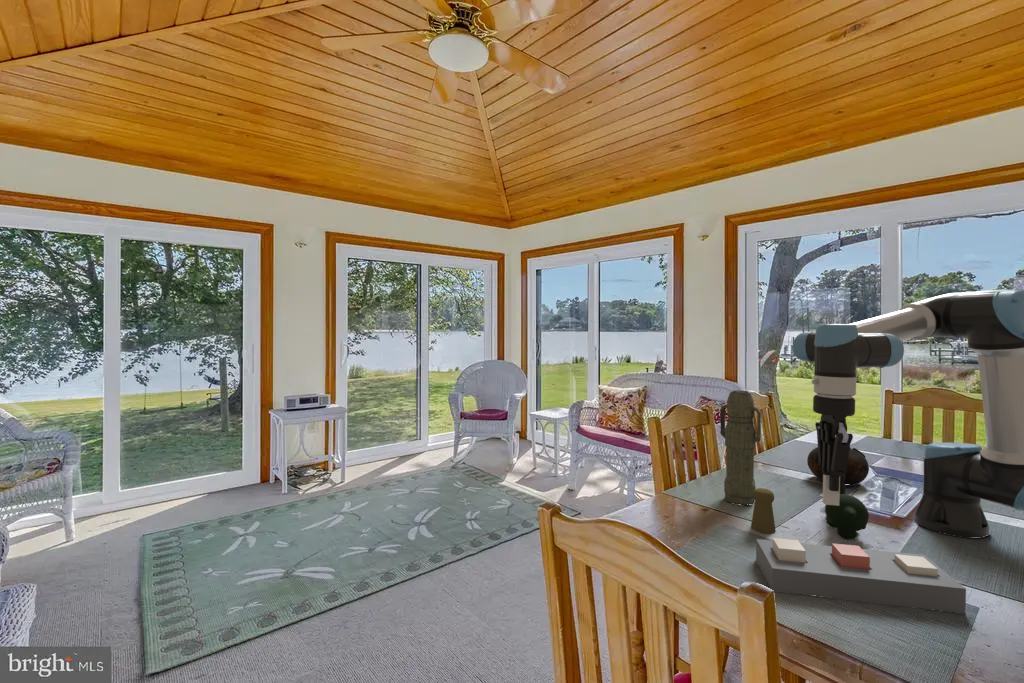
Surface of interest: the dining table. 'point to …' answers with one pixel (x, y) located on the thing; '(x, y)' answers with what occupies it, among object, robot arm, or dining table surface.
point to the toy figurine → (847, 514)
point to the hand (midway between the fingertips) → (830, 503)
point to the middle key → (850, 556)
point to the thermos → (740, 446)
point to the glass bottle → (855, 466)
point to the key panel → (860, 579)
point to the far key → (788, 550)
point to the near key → (915, 565)
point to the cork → (763, 511)
